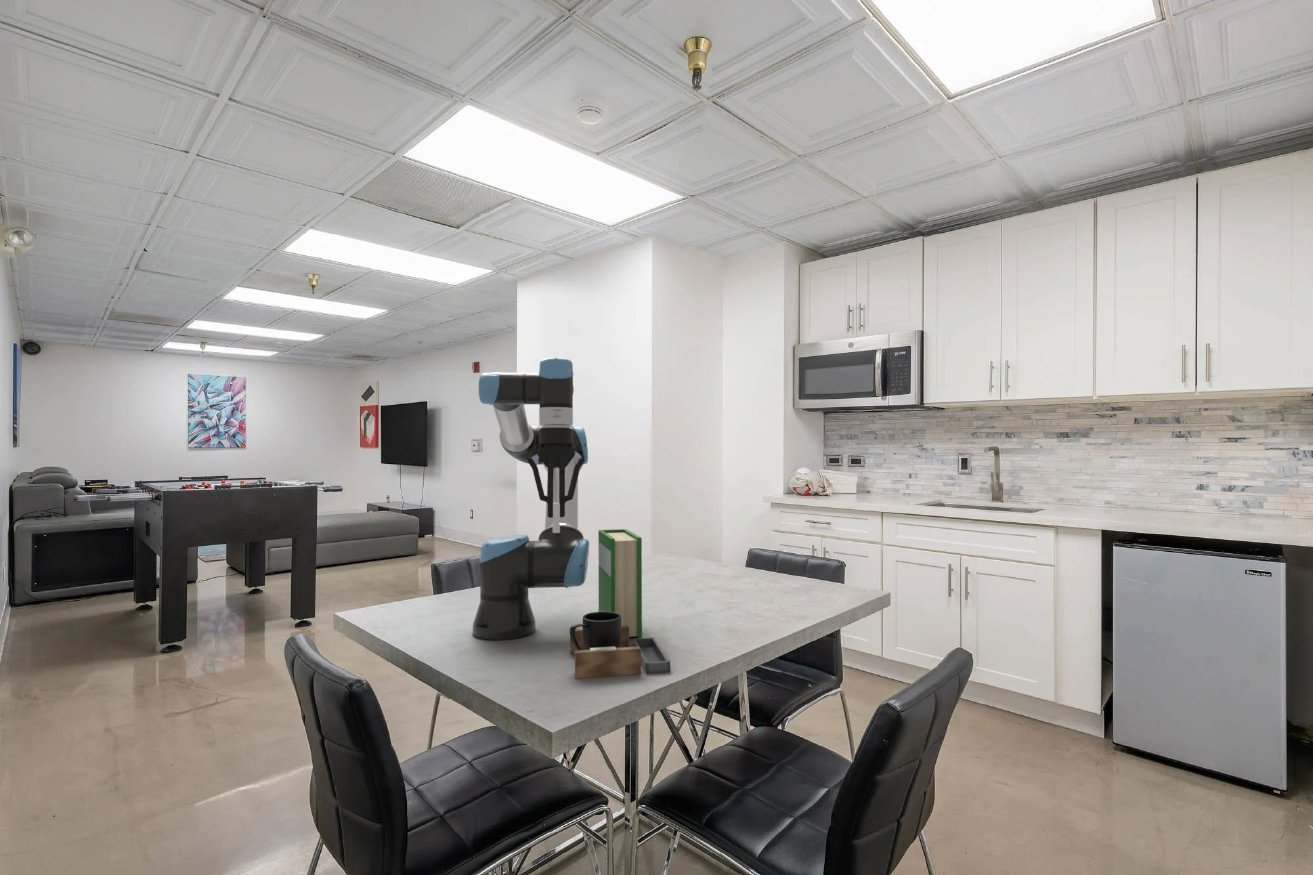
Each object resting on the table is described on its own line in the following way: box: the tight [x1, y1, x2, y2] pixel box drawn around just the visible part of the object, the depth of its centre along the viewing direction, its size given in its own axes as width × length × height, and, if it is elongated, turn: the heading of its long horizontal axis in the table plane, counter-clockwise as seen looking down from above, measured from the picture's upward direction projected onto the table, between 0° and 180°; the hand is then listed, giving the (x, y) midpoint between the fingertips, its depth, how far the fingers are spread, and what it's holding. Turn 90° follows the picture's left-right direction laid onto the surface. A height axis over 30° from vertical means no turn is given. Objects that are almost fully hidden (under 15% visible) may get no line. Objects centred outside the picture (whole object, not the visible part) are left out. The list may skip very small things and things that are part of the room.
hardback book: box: [597, 528, 643, 639], centre depth 156 cm, size 18×7×24 cm, turn 15°
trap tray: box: [631, 637, 671, 674], centre depth 133 cm, size 5×17×2 cm, turn 11°
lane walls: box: [569, 626, 642, 680], centre depth 132 cm, size 13×17×5 cm
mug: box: [569, 611, 621, 650], centre depth 131 cm, size 8×12×10 cm
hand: (556, 532), depth 140 cm, fingers closed
